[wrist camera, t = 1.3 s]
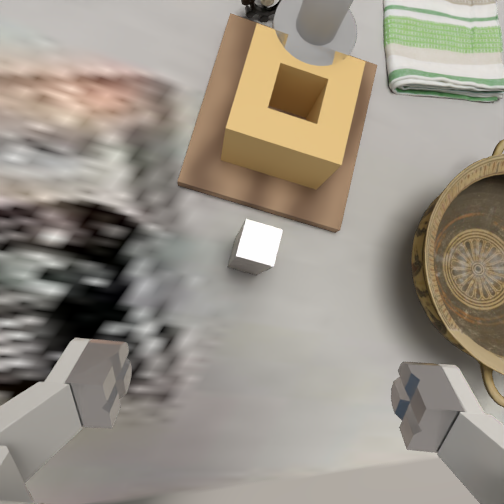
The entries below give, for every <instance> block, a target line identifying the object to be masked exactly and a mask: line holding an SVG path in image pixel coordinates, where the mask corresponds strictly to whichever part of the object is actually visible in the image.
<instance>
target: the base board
mask: <svg viewBox="0 0 504 504" xmlns="http://www.w3.org/2000/svg"><path fill="white" fill-rule="evenodd" d="M256 24H257V23H256V22H253V21H251V20H248V19H245V18H242V17H239V16H236V15H234V14H231V13H230V17H229V20H228V23H227V26H226V29H225V32H224V36H223V39H222V42H221V45H220V48H219V51H218V55H217V58H216V61H215V64H214V67H213V70H212V74H211V77H210V80H209V83H208V86H207V89H206V93H205V96H204V99H203V102H202V105H201V109H200V112H199V115H198V118H197V121H196V124H195V128H194V131H193V134H192V137H191V140H190V143H189V147H188V150H187V153H186V156H185V159H184V162H183V166H182V169H181V172H180V175H179V178H178V186H182V187H185V188H188V189H192V190H195V191H198V192H202V193H205V194H208V195H212V196H215V197H218V198H222V199H225V200H228V201H232V202H235V203H238V204H242V205H245V206H249V207H252V208H255V209H259V210H262V211H265V212H269V213H272V214H275V215H279V216H282V217H285V218H289V219H292V220H295V221H299V222H302V223H305V224H309V225H312V226H315V227H319V228H322V229H325V230H329V231H332V232H335V233H336V232H337V231H339V230H340V228H341V224H342V219H343V215H344V210H345V206H346V202H347V197H348V193H349V188H350V184H351V179H352V175H353V170H354V166H355V162H356V157H357V153H358V148H359V144H360V139H361V135H362V131H363V126H364V122H365V117H366V113H367V108H368V104H369V99H370V95H371V91H372V86H373V82H374V77H375V73H376V68H377V65H375V64H373V63H370V62H367V61H366V62H365V66H364V71H363V75H362V79H361V84H360V88H359V92H358V96H357V101H356V105H355V109H354V114H353V118H352V122H351V127H350V131H349V135H348V140H347V144H346V148H345V152H344V157H343V161H342V165H341V166H340V167H339V168H338V169H337V170H336V171H335V172H334V173H333V174H332V175H331V176H330V177H329V178H328V179H327V180H326V181H325V182H324V183H323V184H322V185H321V186H320V187H319V188H318V189H317V190H315V189H312V188H309V187H306V186H303V185H299V184H296V183H293V182H290V181H286V180H283V179H280V178H277V177H273V176H270V175H267V174H264V173H261V172H257V171H254V170H251V169H248V168H244V167H241V166H238V165H235V164H232V163H228V162H225V161H222V160H221V154H222V148H223V141H224V135H225V129H226V125H227V122H228V118H229V115H230V112H231V108H232V105H233V101H234V98H235V95H236V91H237V88H238V85H239V81H240V78H241V75H242V71H243V68H244V65H245V61H246V58H247V55H248V51H249V48H250V45H251V41H252V38H253V35H254V31H255V28H256ZM258 24H259V23H258ZM261 25H262V24H261ZM264 26H265V25H264ZM266 27H268V26H266ZM269 28H270V27H269ZM349 56H350V55H349ZM351 57H353V56H351ZM354 58H355V57H354ZM357 59H358V58H357ZM360 60H361V59H360ZM363 61H364V60H363ZM268 108H270V109H273V110H276V111H279V112H282V113H285V114H288V115H291V116H294V117H297V118H300V119H303V120H306V118H305V117H302V116H299V115H295V114H292V113H289V112H286V111H283V110H280V109H277V108H274V107H271V106H268Z"/></svg>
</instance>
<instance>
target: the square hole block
mask: <svg viewBox="0 0 504 504" xmlns="http://www.w3.org/2000/svg"><path fill="white" fill-rule="evenodd" d="M352 2H353V0H282V1H281V2H280V3H279V5H278V7H277V9H276V12H275V16H274V20H273V26H272V28H269V27H266V26H264V25H261V24H258V23H257V24H256V28H255V31H254V35H253V38H252V41H251V45H250V48H249V51H248V55H247V58H246V61H245V65H244V68H243V71H242V75H241V78H240V81H239V85H238V88H237V91H236V95H235V98H234V101H233V105H232V108H231V112H230V115H229V118H228V122H227V125H226V129H225V135H224V141H223V148H222V154H221V160H222V161H225V162H228V163H232V164H235V165H238V166H241V167H244V168H248V169H251V170H254V171H257V172H261V173H264V174H267V175H270V176H273V177H277V178H280V179H283V180H286V181H290V182H293V183H296V184H299V185H303V186H306V187H309V188H312V189H315V190H317V189H318V188H319V187H320V186H321V185H322V184H323V183H324V182H325V181H326V180H327V179H328V178H329V177H330V176H331V175H332V174H333V173H334V172H335V171H336V170H337V169H338V168H339V167H340V166H341V165H342V161H343V157H344V152H345V148H346V144H347V140H348V135H349V131H350V127H351V122H352V118H353V114H354V109H355V105H356V101H357V96H358V92H359V88H360V84H361V79H362V75H363V71H364V66H365V62H366V61H363V60H360V59H357V58H354V57H351V56H349V55H350V53H351V52H352V50H353V48H354V46H355V43H356V39H357V25H356V21H355V19H354V16H353V14H352V12H351V11H350V9H349V8H350V6H351V4H352ZM268 106H271V107H274V108H277V109H280V110H283V111H286V112H289V113H292V114H295V115H299V116H302V117H305V118H306V120H303V119H300V118H297V117H294V116H291V115H288V114H285V113H282V112H279V111H276V110H273V109H270V108H268Z"/></svg>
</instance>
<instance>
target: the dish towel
mask: <svg viewBox="0 0 504 504" xmlns="http://www.w3.org/2000/svg"><path fill="white" fill-rule="evenodd" d="M383 7H384V48H385V54H386V63H387V72H388V77H389V88H390V89H392V91H393V92H394V93H395V94H399V95H411V96H431V97H439V98H443V97H445V98H452V99H464V100H468V101H482V102H492V103H493V102H494V101H497V100H498V98H500V99H502V98H503V94H504V65H503V62H502V53H503V49H502V48H503V45H502V34H501V29H500V25H499V20H498V12H497V0H383Z"/></svg>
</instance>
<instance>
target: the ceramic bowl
mask: <svg viewBox="0 0 504 504" xmlns="http://www.w3.org/2000/svg"><path fill="white" fill-rule="evenodd" d="M503 150H504V140H502V141H500V142H499V143H498V144H497V145H496V147H495V149H494V151H493V154H492V156H490V157H488V158H484V159H481V160H479V161H477V162H475V163H473V164H472V165H470V166H468V167H467V168H466V169H464V170H463V171H462V172H461V173H459V174H458V175H457V176H456V177H455V178H454V179H453V180H452V181H451V182H450V183H449V184H448V186H447V187H446V188H445V189H444V191H443V192H442V193H441V194H440V195H439V196H438V197H437V198H436V199H435V200H434V201H433V202H432V203H431V205H430V206H429V207H428V209H427V210H426V212H425V213H424V215H423V217H422V219H421V221H420V224H419V226H418V228H417V231H416V233H415V237H414V241H413V247H412V254H411V267H412V276H413V281H414V285H415V289H416V292H417V295H418V298H419V300H420V303H421V305H422V307H423V309H424V311H425V313H426V314H427V316H428V317H429V319H430V320H431V322H432V323H433V325H434V326H435V327H436V328H437V330H438V331H439V332H440V333H441V334H442V335H443V336H444V337H445V338H446V339H447V340H448V341H450V342H451V343H452V344H453V345H455V346H456V347H458V348H459V349H461V350H462V351H464V352H465V353H467V354H469V355H470V356H472V357H473V358H475V359H476V360H477V361H478V362H479V364H480V367H481V373H482V378H483V382H484V385H485V388H486V390H487V392H488V394H489V395H490V397H491V398H492V399H493V400H494V401H495V402H496V403H497V404H498V405H500V406H502V407H504V397H503V396H501V394H500V393H499V392H498V391H497V389H496V387H495V385H494V382H493V376H492V371H493V370H495V371H496V372H499V373H501V374H503V375H504V154H502V152H503Z"/></svg>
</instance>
